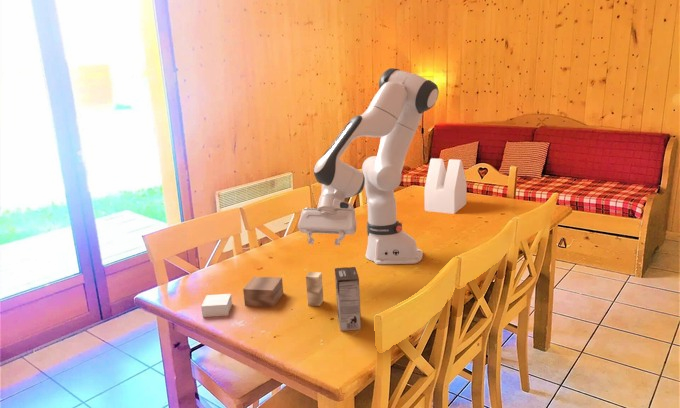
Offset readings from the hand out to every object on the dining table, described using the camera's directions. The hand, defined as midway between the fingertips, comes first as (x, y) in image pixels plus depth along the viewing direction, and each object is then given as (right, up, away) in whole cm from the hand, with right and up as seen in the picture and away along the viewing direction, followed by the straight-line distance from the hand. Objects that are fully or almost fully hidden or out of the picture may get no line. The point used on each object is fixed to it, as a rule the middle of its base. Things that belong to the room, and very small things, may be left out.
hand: (323, 244), depth 176 cm
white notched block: (+60, +12, +91) cm, 109 cm away
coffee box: (+8, -22, -21) cm, 32 cm away
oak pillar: (-2, -19, -7) cm, 20 cm away
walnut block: (-20, -18, -2) cm, 27 cm away
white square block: (-34, -21, -8) cm, 41 cm away
